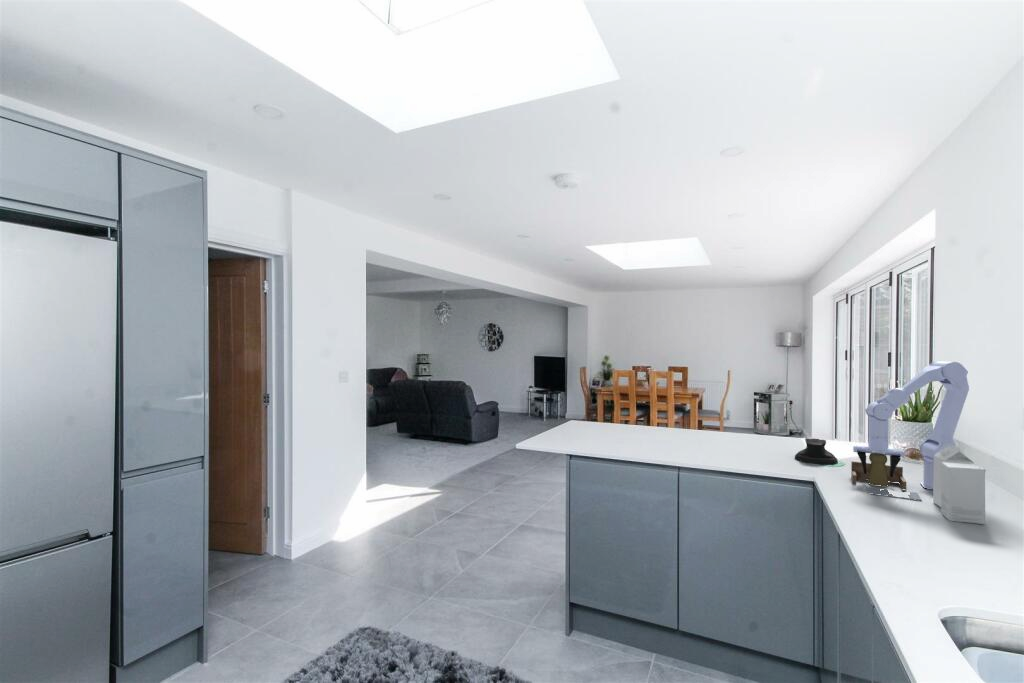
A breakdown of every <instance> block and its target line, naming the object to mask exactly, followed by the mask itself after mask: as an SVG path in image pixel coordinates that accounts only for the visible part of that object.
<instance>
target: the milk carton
mask: <svg viewBox="0 0 1024 683" xmlns="http://www.w3.org/2000/svg"><path fill="white" fill-rule="evenodd" d="M941 462H947V463H962V464H975V462H974V461H973V460H972V459H970V458H969V457H968V456H966V455H965V454H964V453H962V452H961V448H960V447H959V446H957V445H956V446H953V445H951V444H948V443H947V447H946V448H944V449H942V450H940V452H938V453H937V454H935V455H934V479H933V489H932V490H933V493H932V494H933V495H932V496H933V497H932V498H933V499H932V500H933V501H932V502H933V504H935V505H936V506H938V507H939V508H941Z"/></svg>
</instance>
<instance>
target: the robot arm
mask: <svg viewBox="0 0 1024 683" xmlns="http://www.w3.org/2000/svg"><path fill="white" fill-rule="evenodd" d="M968 373H969V371H968V369H966V367H965V366H964V365H963V364H962V363H960V362H957V361H943V360H942V361H941V360H935V361H933V362H931V363H930V364H929V365H926V366H924V368H923V369H922V370H921V371H919V373H918V374H916V375H915V376H914V377H912V378H911V379H910V380H909V381H908V382H906V383H905V384H904V385H903V386H902V387H900V388H899V387H895V388H890V389H888V390H887V393H885V394H884V395H882V396H881V397H878V398H877V399H876V401H873V402H870V403H868V405H867V407H866V408H865V409H864V410H865V413H866V415H867V416H868V440H867V441H868V446H860V445H859V446H857V445H853V448H852V449H853V450H852V451H853V453H856V454H857V456H858V458H859V460H860V462H861V463H862V466H863V471H864V474H866V472H867V471H866V463H867V454H873V453H877V454H883V455H886V456H889V465H890V477H893V473H894V470H895V468H896V466H898V464H899V463H900V461H901V458H905V451H904V450H898V449H891V448H889V436H890V434H889V429H890V428H889V426H890V425H889V424H890V423H889V422H890V419H891V418H892V416H894V415H893V414H894V412H895V411H897V410H898V409H899V408H901V407H902V406H903V405H904V404H906V403H907V402H909V401H910V396H911V395H912V394H914V393H916V392H917V391H918V390H920V389H922V388H923V387H925V386H926V385H928V384H929V383H931V382H939V383H941V385H942V386H943V387H944V388H945V389H946V392H945V394H944V397H943V400H942V403H941V407H940V409H939V412H938V414H937V417H936V420H935V424H934V426H933V430H932V432H931V433H929V434H928V435H926V438H925V440H924V441H923V442H921V444H919V453H920V454H921V456H923V475H922V476H923V479H922V480H923V481H920V482H919V483H920V485H921V486H922V488H923V487H924V488H923V489H925V488H927V489H926V490H933V479H934V455H935V454H937V453H938V452H940V450H942V449H944V448H946V447H947V443H948V444H951V445H953V446H956V447H957V444H956V441H955V440H954V435H955V432H956V429H957V426H958V424H959V420H960V417H961V414H962V411H963V409H964V405H965V403H966V400H967V396H968V394H969V392H970V386H969V381H968V378H967V377H968V376H967V375H968Z"/></svg>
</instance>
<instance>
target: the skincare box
mask: <svg viewBox="0 0 1024 683" xmlns="http://www.w3.org/2000/svg"><path fill="white" fill-rule="evenodd" d="M940 509H941V511H940V513H941V515H942V516H943V515H944V518H946V519H947V520H948V521H949V522H960V523H966V524H967V523H969V524H977V525H986V469H985V468H983V467H981V466H979V465H977V464H976V463H974V464H962V463H947V462H941V507H940Z"/></svg>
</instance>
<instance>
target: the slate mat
mask: <svg viewBox="0 0 1024 683" xmlns="http://www.w3.org/2000/svg"><path fill="white" fill-rule="evenodd" d="M880 488H881V487H879V486H872V485H871V486H868V485H865V490H866V489H867V490H866V493H867V492H868V493H873V494H872V495H874V494H881V495H888V496H893V495H892V494H889V492H888V490H887V489H888V488H886V489H884V490H881V491H880ZM909 492H910V495H908V496H909V498H910V499H916V500H915V501H917V500H922V501H923V499H922V498H921V496H920V495H919V494H918V492H914V491H909ZM868 493H867V494H868ZM881 495H880V496H881ZM888 496H887V497H888Z"/></svg>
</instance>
